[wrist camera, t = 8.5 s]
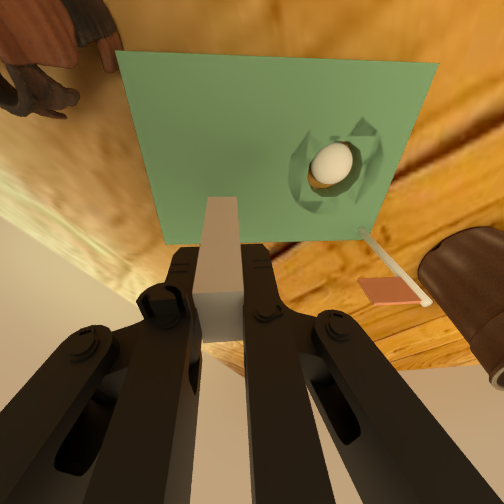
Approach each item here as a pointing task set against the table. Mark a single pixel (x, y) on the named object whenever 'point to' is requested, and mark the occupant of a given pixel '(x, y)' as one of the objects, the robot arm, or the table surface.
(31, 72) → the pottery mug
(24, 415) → the robot arm
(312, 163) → the ball
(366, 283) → the flag pin
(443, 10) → the table surface
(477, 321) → the plant pot
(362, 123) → the green
